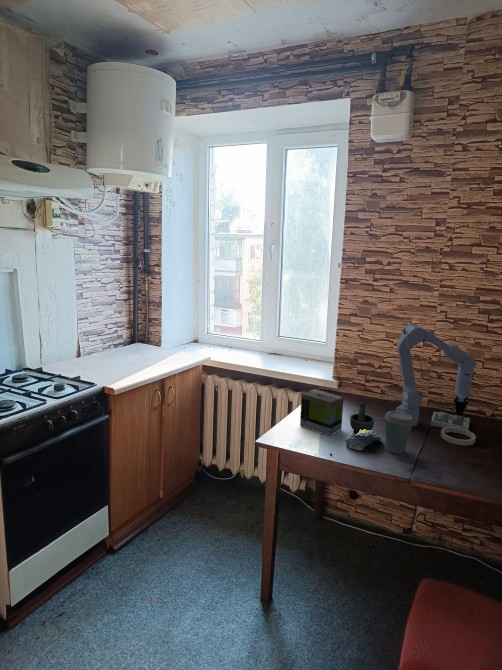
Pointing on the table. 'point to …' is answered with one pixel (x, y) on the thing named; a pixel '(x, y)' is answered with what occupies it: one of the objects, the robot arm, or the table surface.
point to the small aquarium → (321, 411)
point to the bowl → (458, 441)
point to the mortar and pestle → (361, 420)
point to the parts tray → (449, 424)
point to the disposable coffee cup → (397, 430)
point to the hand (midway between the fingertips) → (459, 412)
